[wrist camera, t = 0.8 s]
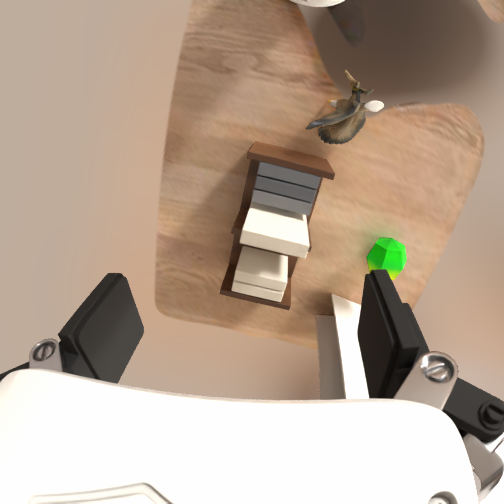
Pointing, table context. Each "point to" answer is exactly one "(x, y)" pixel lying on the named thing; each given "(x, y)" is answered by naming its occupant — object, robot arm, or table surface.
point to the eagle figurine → (346, 116)
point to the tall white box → (340, 353)
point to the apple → (387, 256)
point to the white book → (276, 230)
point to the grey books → (285, 188)
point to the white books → (261, 274)
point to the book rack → (256, 155)
